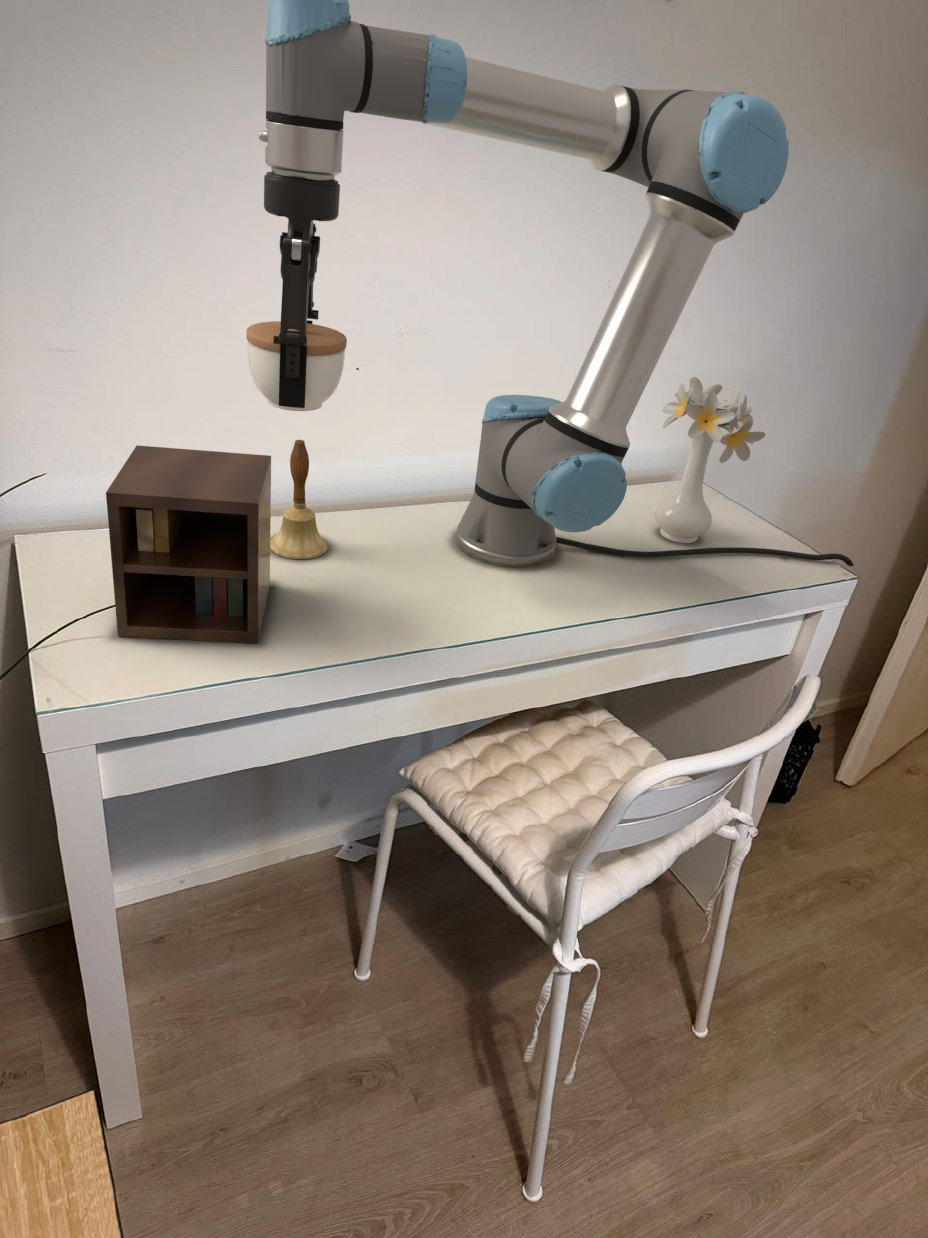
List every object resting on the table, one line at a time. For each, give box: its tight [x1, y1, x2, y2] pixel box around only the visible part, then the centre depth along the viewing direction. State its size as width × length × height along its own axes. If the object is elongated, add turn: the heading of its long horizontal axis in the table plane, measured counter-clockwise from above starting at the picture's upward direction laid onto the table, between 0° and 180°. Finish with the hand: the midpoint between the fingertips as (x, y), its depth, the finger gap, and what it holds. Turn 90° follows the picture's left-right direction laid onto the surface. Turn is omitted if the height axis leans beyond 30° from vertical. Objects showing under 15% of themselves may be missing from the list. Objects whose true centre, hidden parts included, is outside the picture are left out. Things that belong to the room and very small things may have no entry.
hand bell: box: [270, 439, 329, 560], centre depth 128 cm, size 8×8×16 cm
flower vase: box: [654, 376, 766, 544], centre depth 146 cm, size 13×18×25 cm
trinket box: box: [246, 320, 348, 412], centre depth 101 cm, size 11×11×9 cm
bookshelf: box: [105, 444, 272, 644], centre depth 109 cm, size 16×15×18 cm
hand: (295, 390), depth 102 cm, fingers closed on trinket box, 11 cm apart
